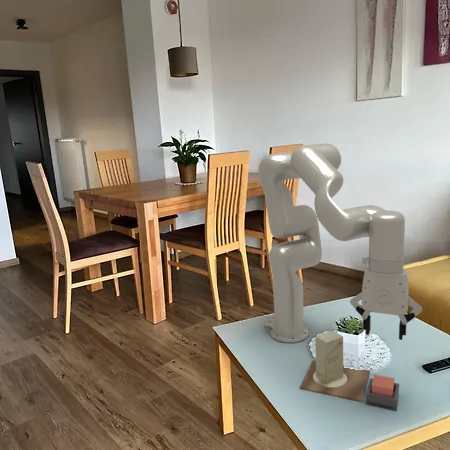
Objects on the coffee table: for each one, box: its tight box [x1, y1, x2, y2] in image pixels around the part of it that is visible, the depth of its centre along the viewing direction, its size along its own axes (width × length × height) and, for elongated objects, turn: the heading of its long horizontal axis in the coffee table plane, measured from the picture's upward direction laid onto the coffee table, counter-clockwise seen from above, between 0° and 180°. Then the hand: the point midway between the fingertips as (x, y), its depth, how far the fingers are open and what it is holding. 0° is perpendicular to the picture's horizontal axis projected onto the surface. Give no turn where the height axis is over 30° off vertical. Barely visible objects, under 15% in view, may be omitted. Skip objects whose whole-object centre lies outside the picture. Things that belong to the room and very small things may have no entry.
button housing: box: [365, 377, 400, 412], centre depth 106 cm, size 7×7×3 cm
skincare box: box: [315, 330, 344, 384], centre depth 115 cm, size 6×4×12 cm
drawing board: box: [299, 359, 371, 403], centre depth 116 cm, size 16×14×1 cm
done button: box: [372, 374, 395, 397], centre depth 106 cm, size 5×5×2 cm
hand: (384, 334), depth 103 cm, fingers open, 6 cm apart
